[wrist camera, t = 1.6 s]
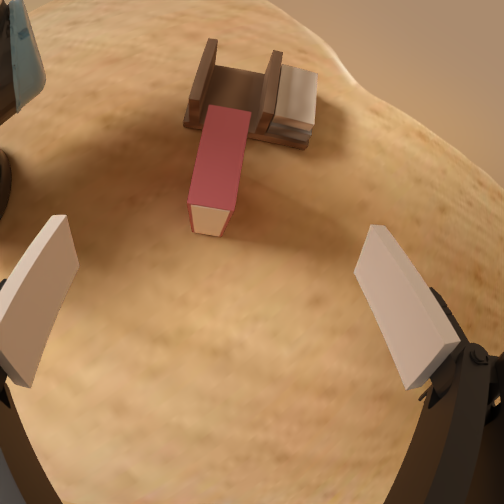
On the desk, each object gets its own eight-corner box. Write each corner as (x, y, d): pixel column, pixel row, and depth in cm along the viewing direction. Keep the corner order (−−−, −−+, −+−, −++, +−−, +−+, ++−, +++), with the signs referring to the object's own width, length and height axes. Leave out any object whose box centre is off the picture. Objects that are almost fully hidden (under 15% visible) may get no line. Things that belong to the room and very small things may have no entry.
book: (192, 232, 36) (186, 203, 22) (205, 164, 36) (209, 104, 23) (221, 237, 36) (234, 211, 22) (233, 169, 37) (251, 112, 23)
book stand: (183, 126, 36) (181, 97, 30) (200, 69, 37) (202, 37, 31) (304, 150, 39) (323, 126, 32) (309, 91, 40) (326, 64, 33)
